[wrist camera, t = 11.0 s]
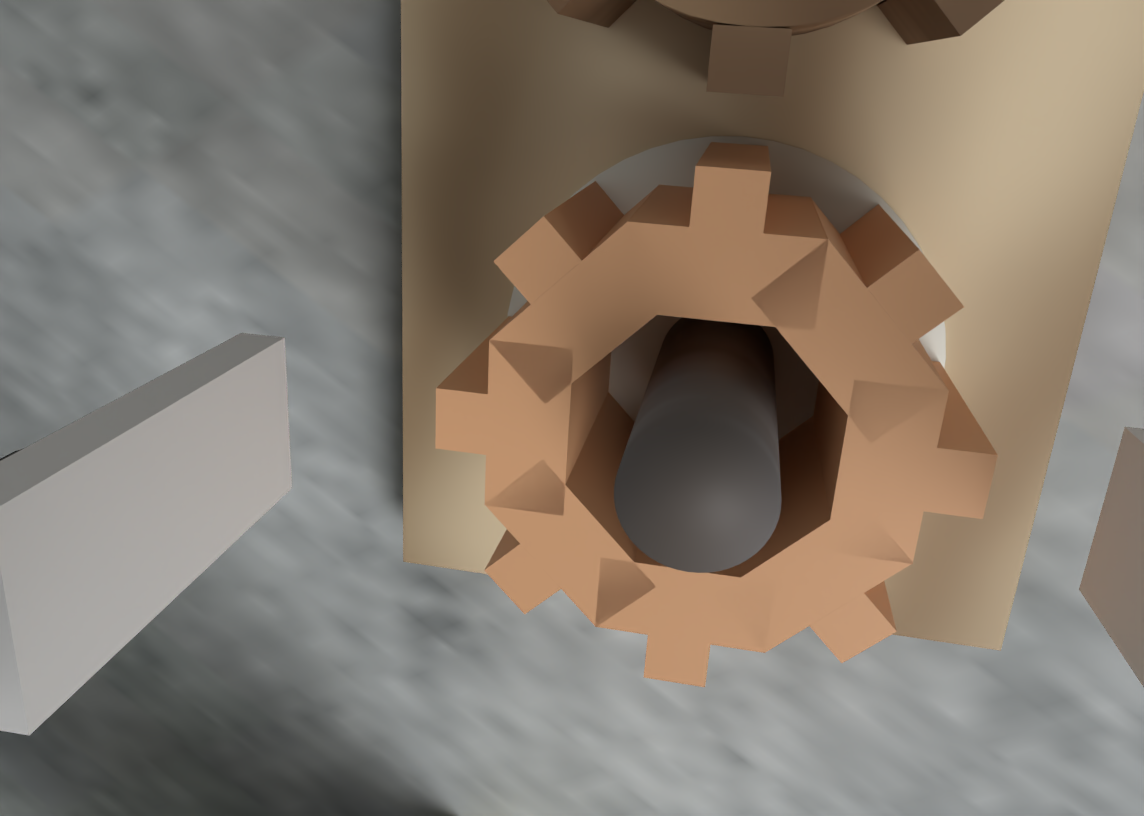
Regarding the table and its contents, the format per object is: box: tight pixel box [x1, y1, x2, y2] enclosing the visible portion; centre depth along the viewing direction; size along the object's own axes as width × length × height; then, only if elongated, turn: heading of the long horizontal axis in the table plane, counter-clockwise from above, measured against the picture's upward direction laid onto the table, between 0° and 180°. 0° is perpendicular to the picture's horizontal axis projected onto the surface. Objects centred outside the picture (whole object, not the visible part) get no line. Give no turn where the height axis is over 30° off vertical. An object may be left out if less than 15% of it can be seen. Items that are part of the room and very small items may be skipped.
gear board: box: [401, 0, 1144, 650], centre depth 16 cm, size 14×20×8 cm
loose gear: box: [435, 142, 998, 687], centre depth 18 cm, size 9×9×5 cm
